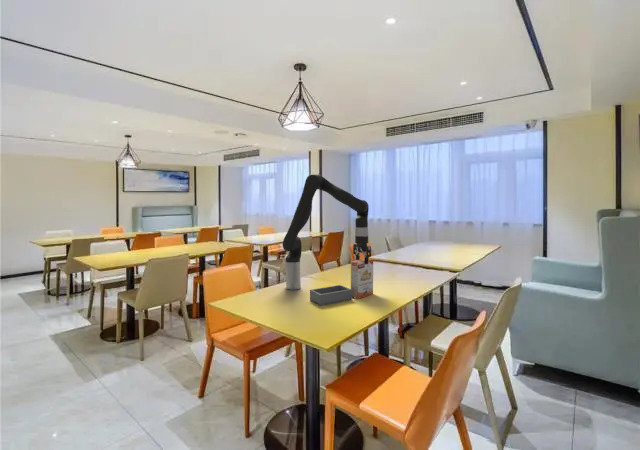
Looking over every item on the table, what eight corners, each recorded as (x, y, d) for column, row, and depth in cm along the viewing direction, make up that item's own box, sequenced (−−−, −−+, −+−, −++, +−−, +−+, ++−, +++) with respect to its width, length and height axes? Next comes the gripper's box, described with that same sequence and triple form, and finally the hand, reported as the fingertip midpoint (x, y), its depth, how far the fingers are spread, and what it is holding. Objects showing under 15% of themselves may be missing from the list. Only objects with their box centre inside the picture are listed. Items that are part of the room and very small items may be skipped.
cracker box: (358, 299, 188) (358, 262, 187) (350, 297, 193) (349, 261, 191) (374, 294, 198) (373, 259, 196) (366, 292, 202) (365, 257, 200)
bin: (310, 300, 188) (309, 289, 187) (340, 294, 197) (340, 284, 197) (320, 306, 177) (320, 294, 177) (351, 300, 187) (351, 289, 186)
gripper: (349, 234, 197) (349, 261, 198) (363, 236, 184) (364, 265, 186) (359, 233, 200) (360, 260, 202) (374, 235, 188) (374, 264, 189)
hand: (362, 263), depth 194 cm, fingers open, 8 cm apart
